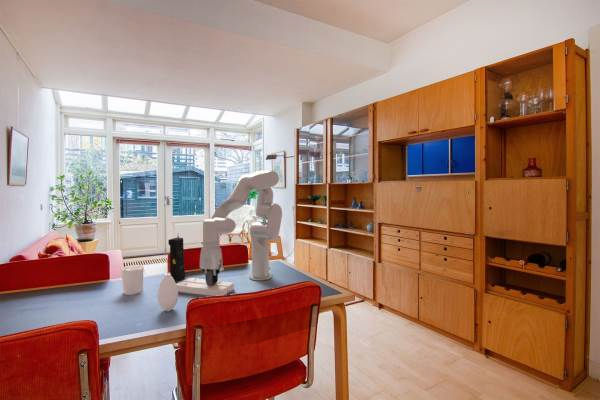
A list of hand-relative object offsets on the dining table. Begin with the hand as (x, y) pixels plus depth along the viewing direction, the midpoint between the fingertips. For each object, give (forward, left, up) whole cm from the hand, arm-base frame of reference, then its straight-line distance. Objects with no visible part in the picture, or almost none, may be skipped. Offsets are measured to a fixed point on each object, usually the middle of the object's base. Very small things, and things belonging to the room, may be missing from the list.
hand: (211, 282), depth 152 cm
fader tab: (0, 0, -4) cm, 4 cm away
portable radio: (-12, -30, -5) cm, 33 cm away
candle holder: (+11, -37, -5) cm, 39 cm away
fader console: (0, -4, -5) cm, 7 cm away
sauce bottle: (+24, -5, -5) cm, 25 cm away
